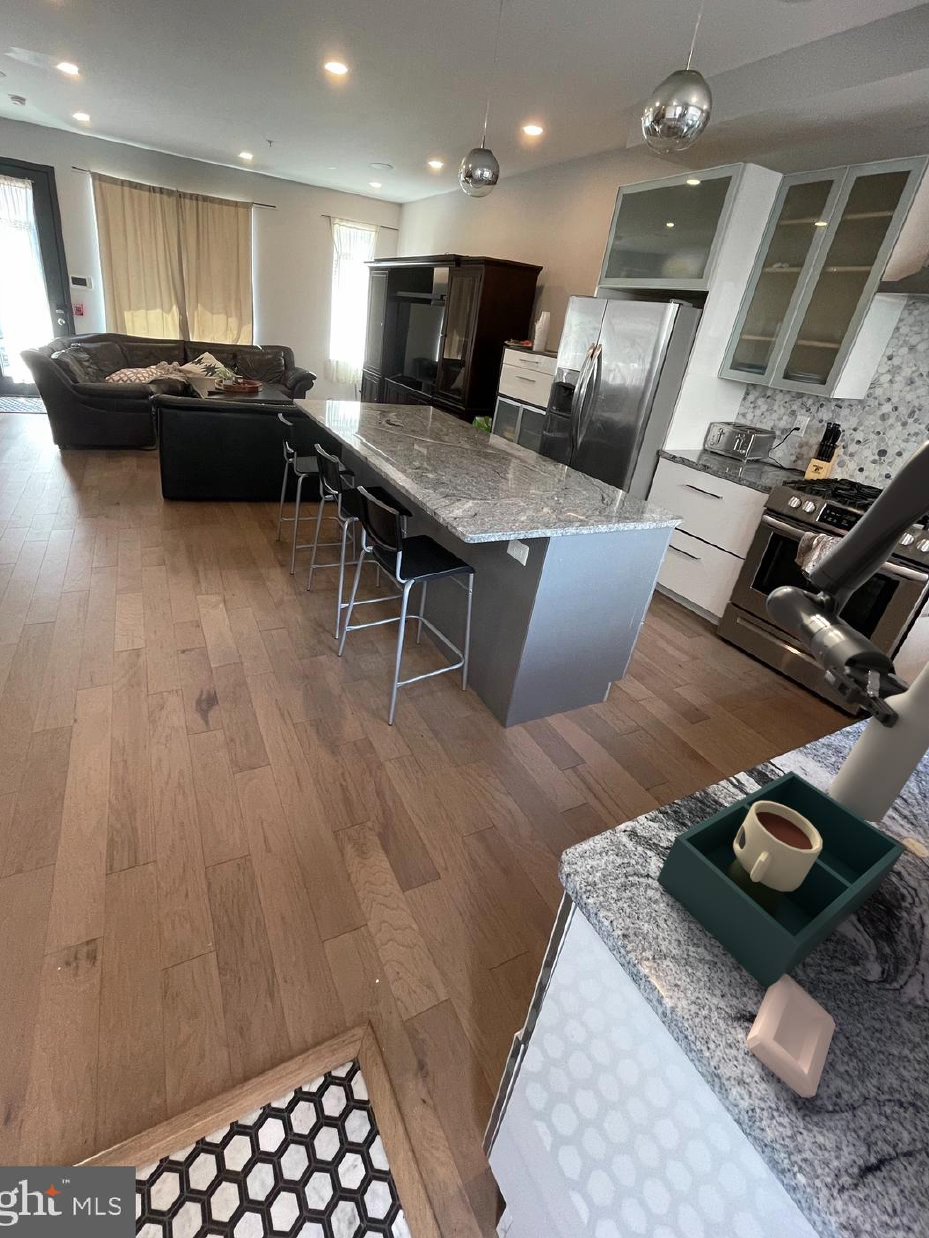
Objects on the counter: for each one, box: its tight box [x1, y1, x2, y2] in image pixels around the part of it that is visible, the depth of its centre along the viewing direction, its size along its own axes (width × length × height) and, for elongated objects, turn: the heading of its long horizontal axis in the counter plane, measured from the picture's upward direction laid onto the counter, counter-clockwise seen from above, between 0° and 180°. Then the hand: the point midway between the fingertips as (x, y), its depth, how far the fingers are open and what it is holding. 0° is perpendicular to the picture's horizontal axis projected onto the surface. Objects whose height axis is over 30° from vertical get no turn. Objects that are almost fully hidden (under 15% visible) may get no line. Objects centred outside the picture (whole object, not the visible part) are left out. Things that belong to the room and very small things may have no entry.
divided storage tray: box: [656, 770, 907, 991], centre depth 69 cm, size 27×14×7 cm, turn 121°
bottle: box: [828, 660, 929, 823], centre depth 73 cm, size 7×7×28 cm
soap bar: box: [746, 974, 836, 1099], centre depth 54 cm, size 5×9×2 cm, turn 134°
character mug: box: [724, 801, 822, 919], centre depth 64 cm, size 11×7×13 cm, turn 131°
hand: (921, 728), depth 70 cm, fingers closed on bottle, 6 cm apart
